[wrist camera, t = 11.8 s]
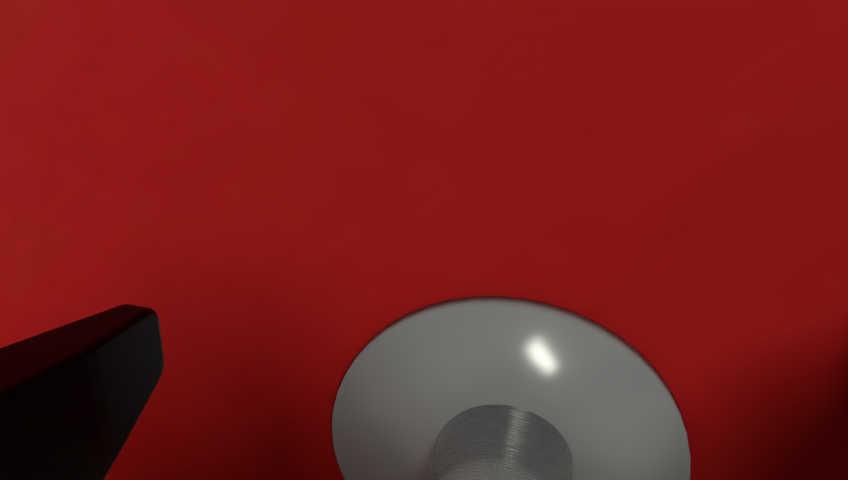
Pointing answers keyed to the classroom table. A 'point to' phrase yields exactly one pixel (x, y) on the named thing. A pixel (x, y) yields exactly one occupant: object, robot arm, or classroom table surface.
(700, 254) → the classroom table surface
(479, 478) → the shiny steel cylinder
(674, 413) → the saucer
